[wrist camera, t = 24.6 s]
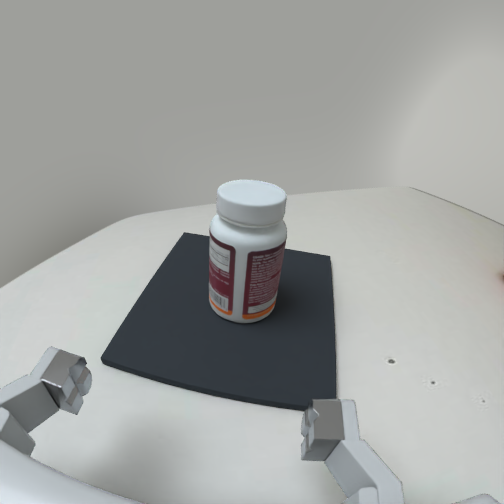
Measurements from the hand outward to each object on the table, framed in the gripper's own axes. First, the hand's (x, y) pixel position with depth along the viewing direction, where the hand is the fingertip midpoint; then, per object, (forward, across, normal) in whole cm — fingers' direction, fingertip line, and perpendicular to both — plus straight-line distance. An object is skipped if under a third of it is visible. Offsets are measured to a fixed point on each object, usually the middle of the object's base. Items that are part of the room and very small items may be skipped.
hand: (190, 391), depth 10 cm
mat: (+12, -1, +6) cm, 13 cm away
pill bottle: (+12, -1, +5) cm, 13 cm away
